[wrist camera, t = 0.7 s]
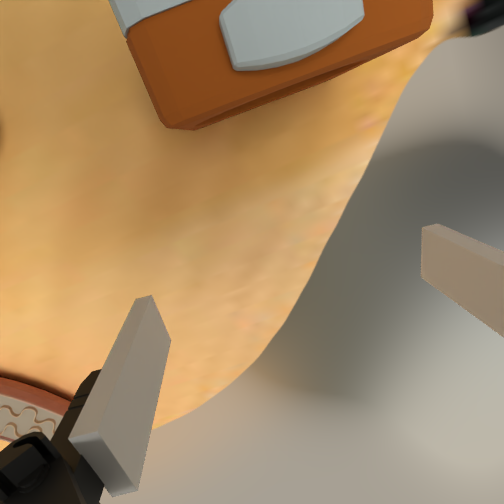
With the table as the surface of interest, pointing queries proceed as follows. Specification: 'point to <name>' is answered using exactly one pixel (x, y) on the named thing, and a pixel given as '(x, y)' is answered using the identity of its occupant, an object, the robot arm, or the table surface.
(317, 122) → the table surface
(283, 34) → the alarm clock
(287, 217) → the table surface
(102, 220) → the table surface
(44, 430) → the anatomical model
